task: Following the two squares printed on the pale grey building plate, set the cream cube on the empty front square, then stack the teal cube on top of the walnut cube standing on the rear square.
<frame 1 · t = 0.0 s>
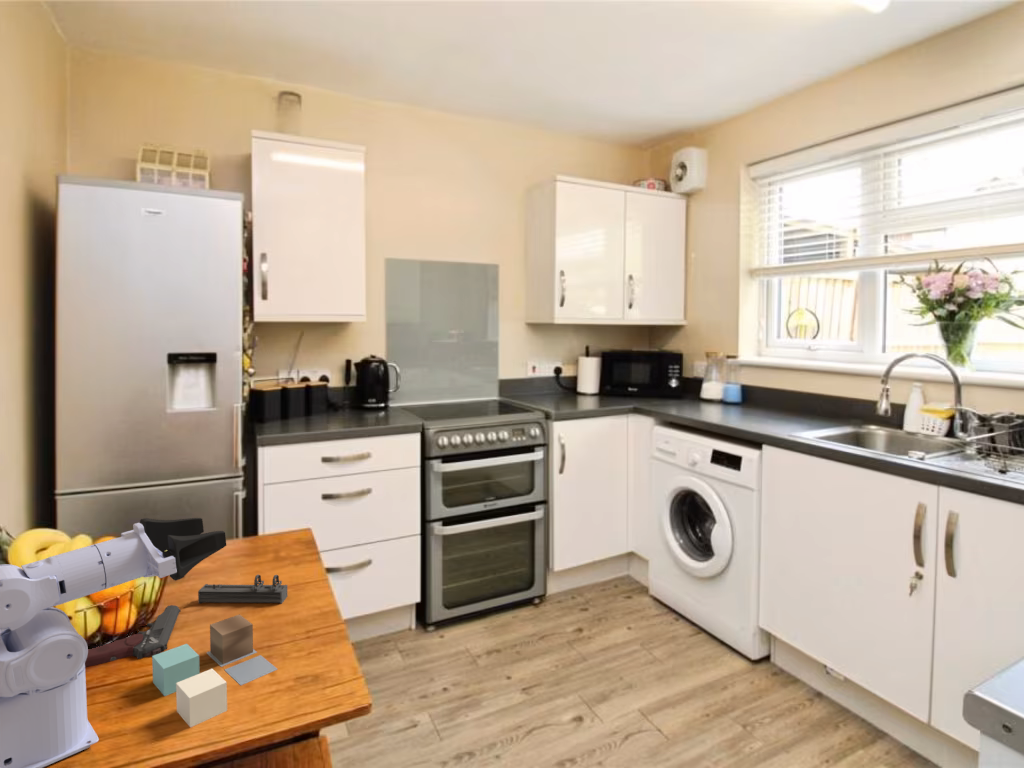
hand: (213, 531, 82), 22 cm above the table, tool horizontal, fingers open, 7 cm apart
teal cube: (176, 686, 82), on the table
cream cube: (202, 715, 76), on the table
light fixture: (243, 604, 107), on the table
plate: (233, 665, 87), on the table
walnut cube: (231, 652, 90), resting on plate
pistol: (131, 643, 93), on the table
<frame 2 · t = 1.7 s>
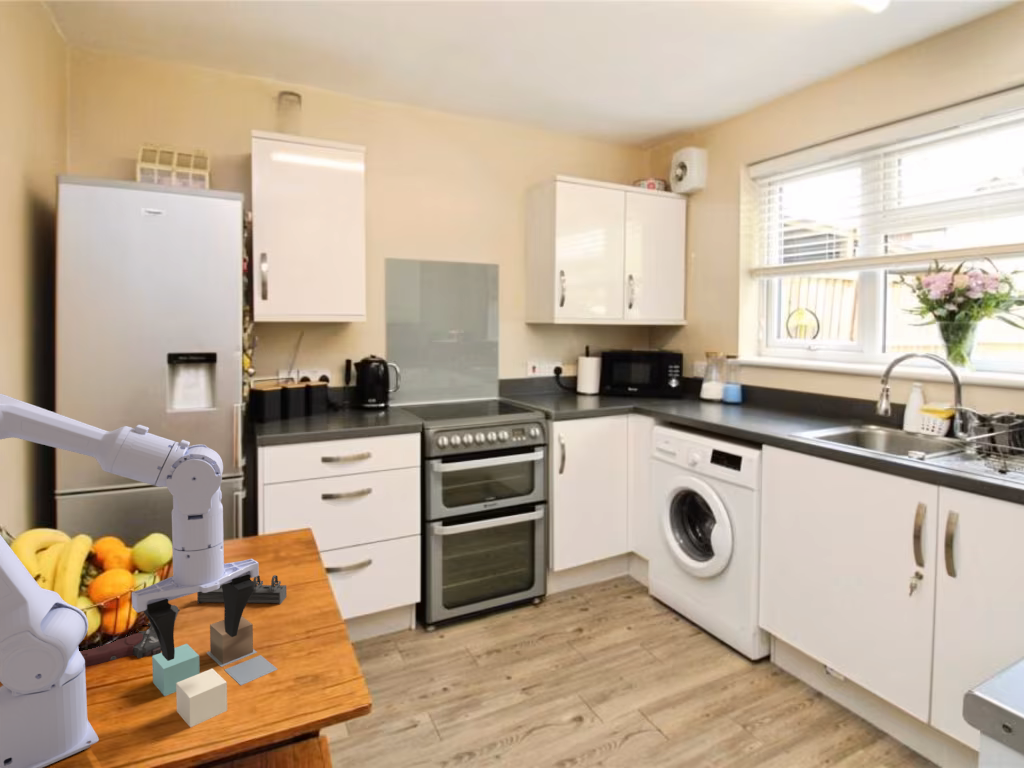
hand: (200, 644, 75), 10 cm above the table, tool pointing down, fingers open, 7 cm apart
nothing on the table moved.
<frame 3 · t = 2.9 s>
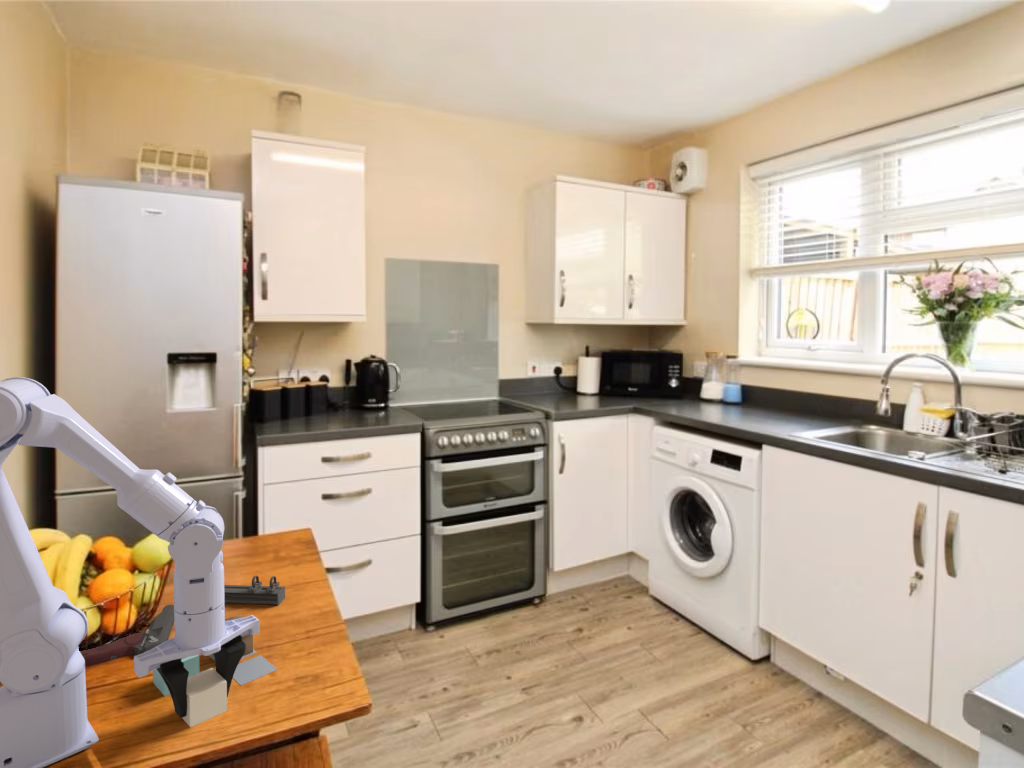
hand: (202, 704, 76), 1 cm above the table, tool pointing down, fingers closed on cream cube, 4 cm apart
cream cube: (202, 714, 76), on the table, touching gripper
everything else where it was.
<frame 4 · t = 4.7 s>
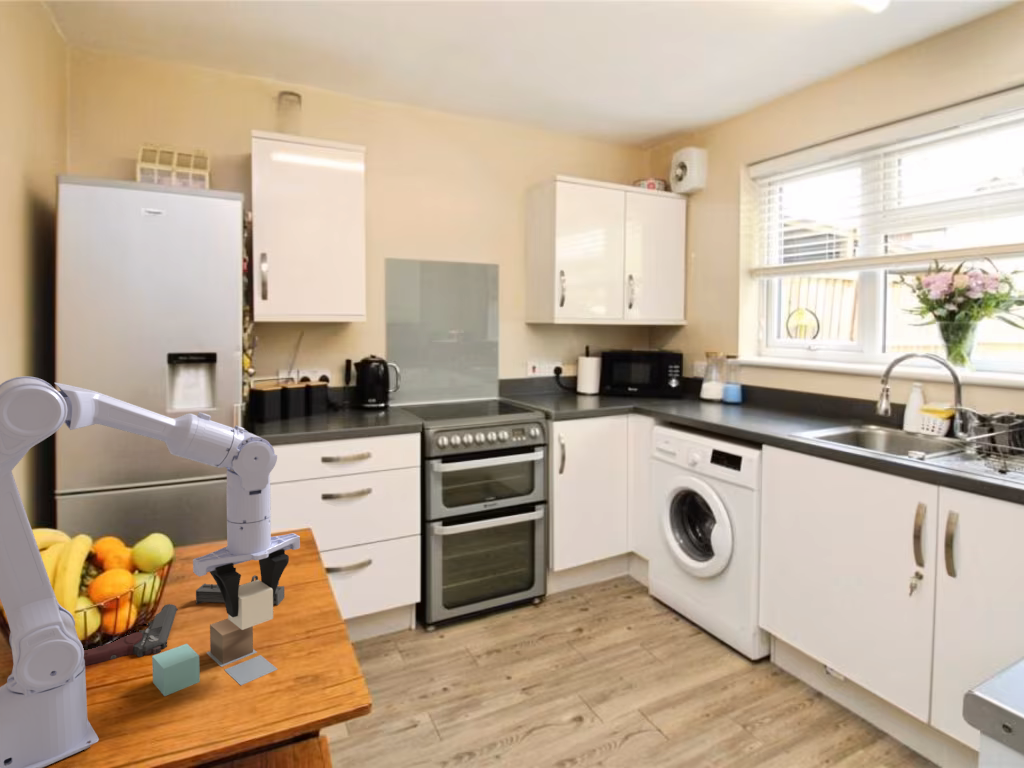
hand: (250, 608, 84), 10 cm above the table, tool pointing down, fingers closed on cream cube, 4 cm apart
cream cube: (250, 618, 85), point 8 cm above the table, touching gripper
everything else where it was.
when the fingers open (3 cm above the table, at t = 6.8 s): cream cube stays where it is, resting on plate.
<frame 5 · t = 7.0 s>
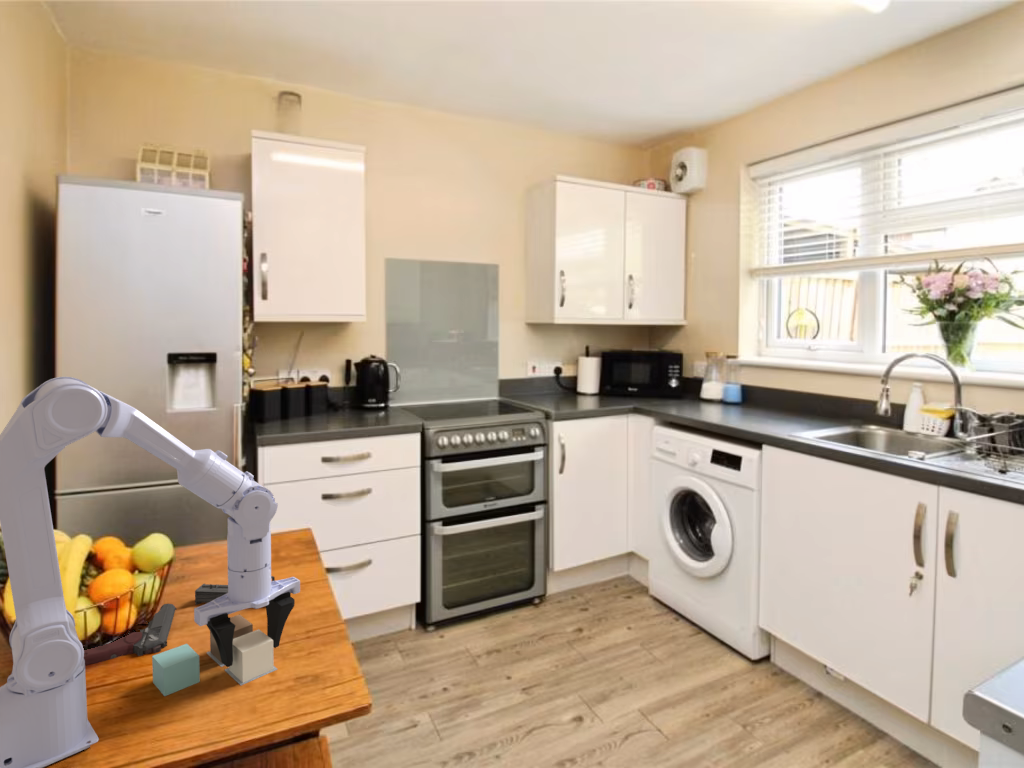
hand: (250, 653, 85), 3 cm above the table, tool pointing down, fingers open, 6 cm apart
cream cube: (251, 669, 85), resting on plate
everything else where it was.
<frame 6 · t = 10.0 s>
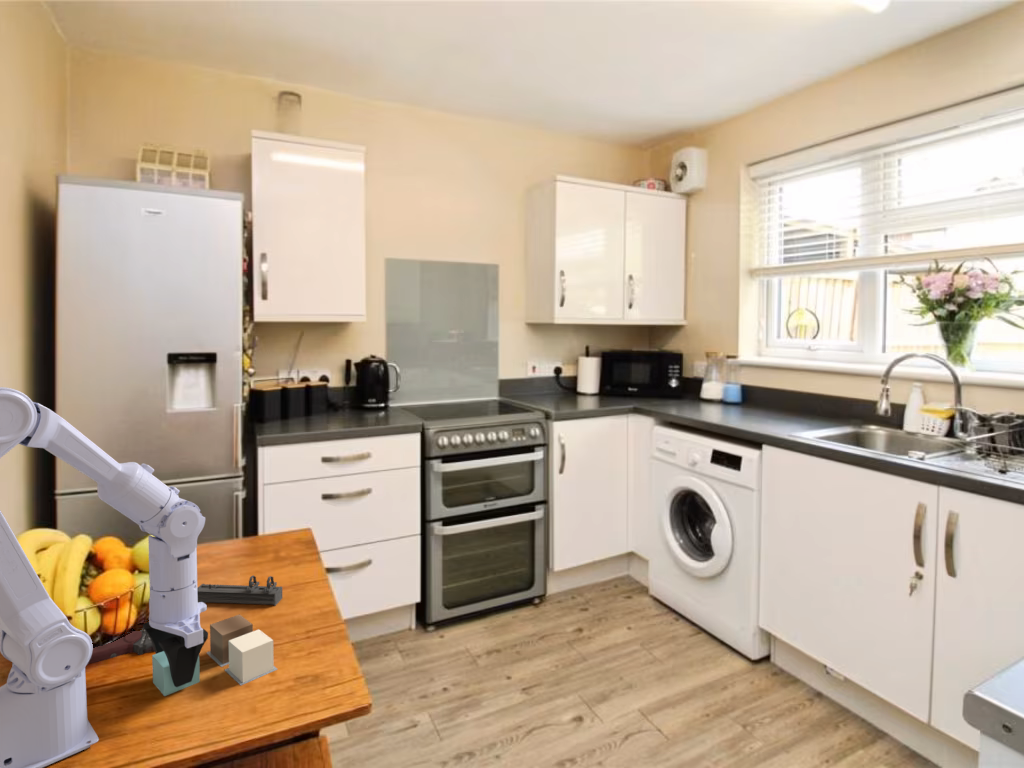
hand: (176, 675, 82), 1 cm above the table, tool pointing down, fingers closed on teal cube, 4 cm apart
teal cube: (176, 685, 82), on the table, touching gripper
when the fingers open (7 cm above the table, at t = 12.7 s): teal cube stays where it is, resting on walnut cube.
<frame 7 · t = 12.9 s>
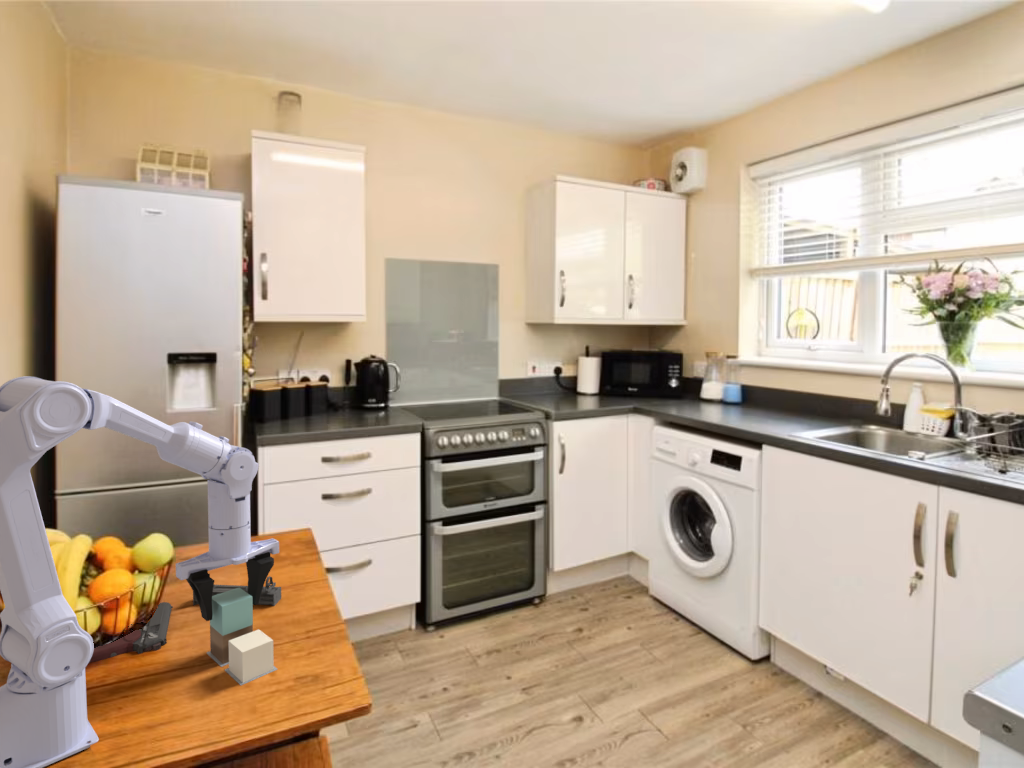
hand: (231, 610, 89), 7 cm above the table, tool pointing down, fingers open, 6 cm apart
teal cube: (231, 624, 89), point 5 cm above the table, touching walnut cube
walnut cube: (231, 652, 90), resting on plate, touching teal cube
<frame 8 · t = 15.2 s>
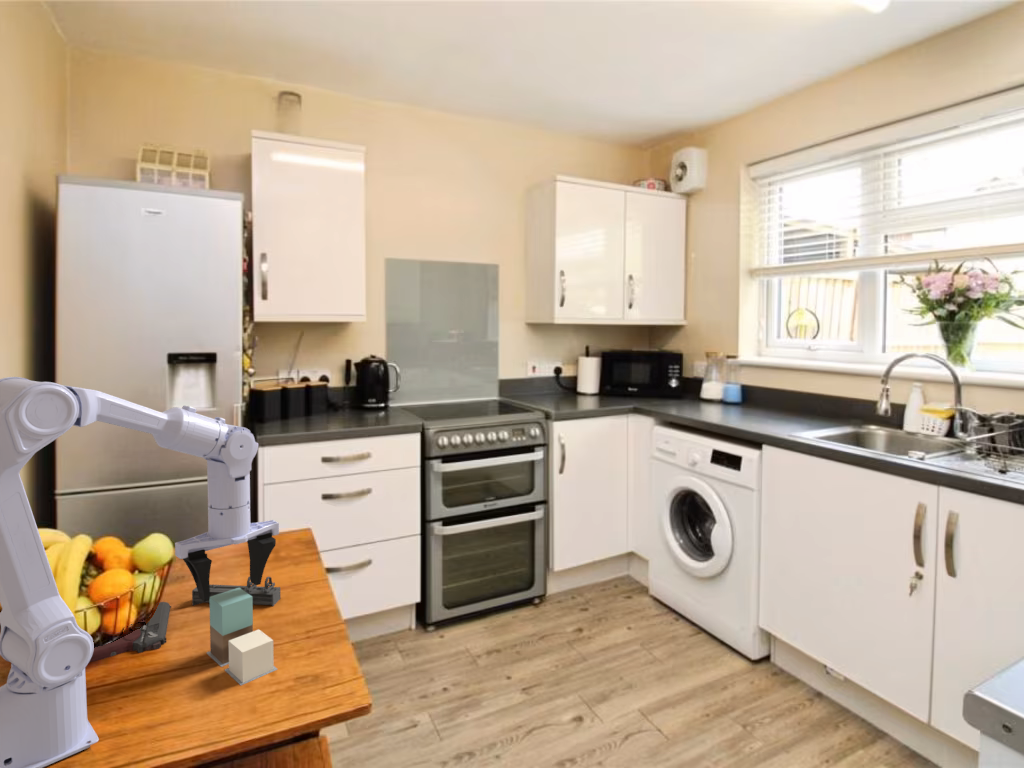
hand: (230, 590, 89), 10 cm above the table, tool pointing down, fingers open, 7 cm apart
at the end: teal cube 0.2 cm off-centre on the walnut cube, point 4.5 cm above the walnut cube's base; cream cube 0.1 cm from the target spot, point 0.5 cm above the table; teal cube tilted 0° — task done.
